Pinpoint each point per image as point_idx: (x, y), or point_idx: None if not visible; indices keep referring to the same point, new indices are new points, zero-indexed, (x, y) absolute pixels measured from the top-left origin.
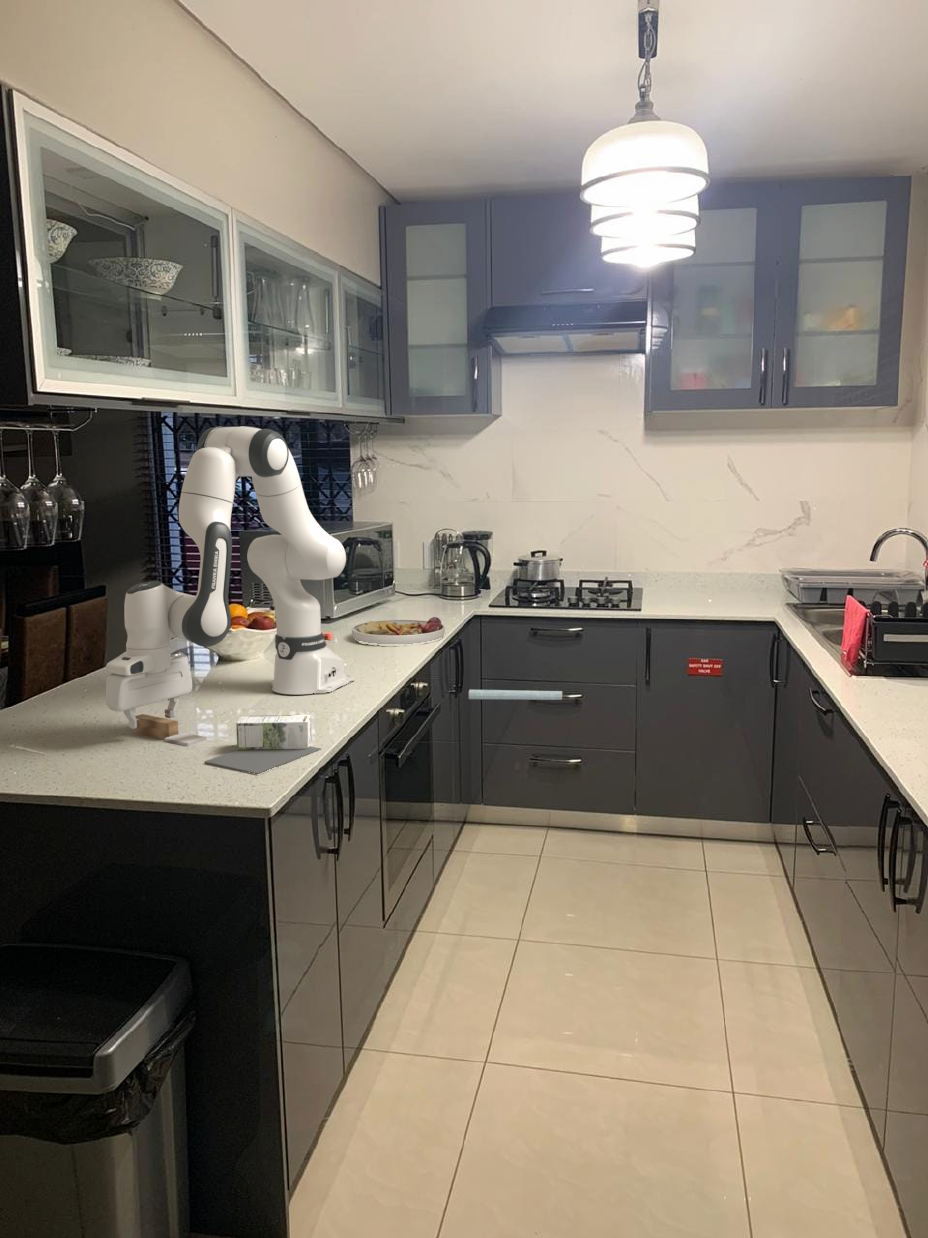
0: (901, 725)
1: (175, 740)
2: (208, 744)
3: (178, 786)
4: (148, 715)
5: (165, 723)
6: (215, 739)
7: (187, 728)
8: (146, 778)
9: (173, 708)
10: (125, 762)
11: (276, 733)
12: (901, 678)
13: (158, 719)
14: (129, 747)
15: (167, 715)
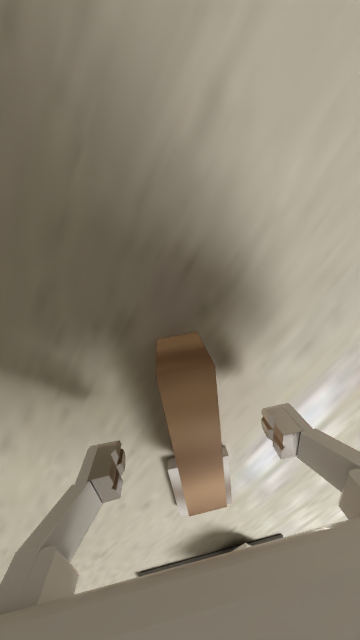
0: None
1: (174, 494)
2: (213, 510)
3: None
4: (214, 404)
5: (187, 507)
6: (244, 494)
7: (277, 403)
8: None
9: (304, 461)
10: (22, 528)
11: None
12: None
13: (201, 468)
14: (73, 454)
15: (268, 423)
